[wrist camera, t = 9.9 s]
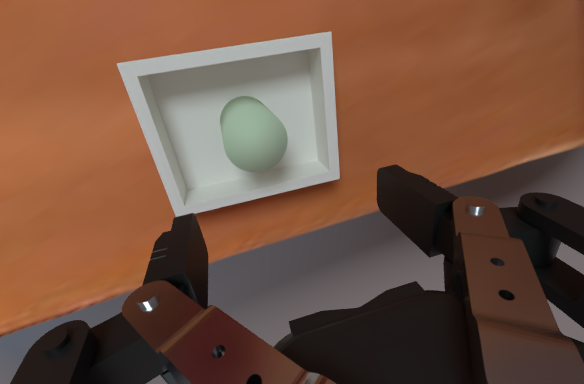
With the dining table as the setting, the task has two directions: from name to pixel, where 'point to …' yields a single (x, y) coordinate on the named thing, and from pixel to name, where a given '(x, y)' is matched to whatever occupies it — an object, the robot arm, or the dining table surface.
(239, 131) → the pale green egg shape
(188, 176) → the serving dish
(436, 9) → the dining table surface
